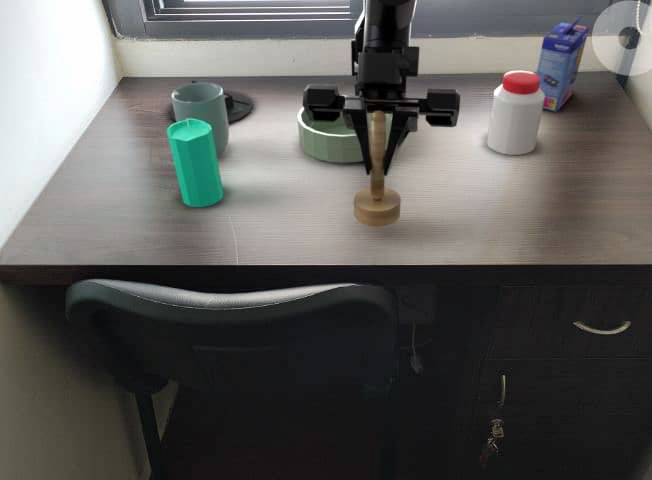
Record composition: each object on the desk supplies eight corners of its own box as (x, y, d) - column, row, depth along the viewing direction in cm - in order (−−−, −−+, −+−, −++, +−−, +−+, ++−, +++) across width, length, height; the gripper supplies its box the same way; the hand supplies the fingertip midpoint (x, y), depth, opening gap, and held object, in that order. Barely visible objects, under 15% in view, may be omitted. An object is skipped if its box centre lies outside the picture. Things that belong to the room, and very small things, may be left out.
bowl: (348, 115, 108) (347, 87, 104) (410, 143, 99) (412, 114, 96) (281, 143, 100) (278, 114, 97) (342, 176, 92) (341, 146, 88)
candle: (184, 186, 90) (167, 109, 82) (225, 184, 90) (211, 107, 83) (179, 208, 86) (160, 129, 78) (222, 206, 86) (207, 127, 78)
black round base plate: (153, 112, 110) (145, 82, 106) (216, 86, 119) (212, 58, 115) (205, 135, 103) (199, 104, 99) (269, 106, 111) (266, 76, 107)
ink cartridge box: (558, 113, 107) (577, 27, 97) (528, 106, 109) (543, 22, 100) (574, 93, 113) (593, 11, 104) (545, 87, 115) (561, 6, 106)
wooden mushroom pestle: (357, 200, 81) (355, 99, 72) (401, 202, 81) (406, 101, 71) (351, 225, 77) (349, 121, 68) (398, 228, 76) (402, 123, 67)
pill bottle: (539, 138, 100) (553, 71, 93) (529, 159, 95) (542, 90, 87) (493, 129, 102) (503, 64, 95) (481, 149, 97) (490, 82, 90)
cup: (222, 165, 95) (211, 104, 88) (176, 161, 96) (162, 100, 89) (239, 143, 100) (230, 83, 94) (195, 139, 102) (183, 80, 95)
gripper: (299, 14, 67) (287, 151, 66) (468, 17, 65) (458, 159, 65) (315, 59, 78) (305, 177, 78) (460, 63, 76) (452, 185, 76)
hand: (376, 174), depth 74 cm, fingers closed on wooden mushroom pestle
